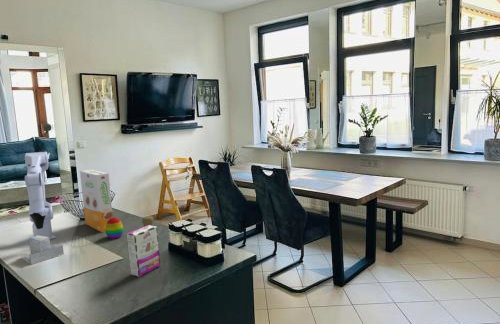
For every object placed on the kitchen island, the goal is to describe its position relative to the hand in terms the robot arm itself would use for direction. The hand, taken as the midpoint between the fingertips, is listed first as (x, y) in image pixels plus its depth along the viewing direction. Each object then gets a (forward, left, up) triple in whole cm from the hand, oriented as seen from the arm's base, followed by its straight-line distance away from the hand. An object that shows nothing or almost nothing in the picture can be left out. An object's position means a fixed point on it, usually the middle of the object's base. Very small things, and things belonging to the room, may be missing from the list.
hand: (39, 228), depth 169 cm
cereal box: (-8, +32, -10) cm, 34 cm away
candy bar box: (+61, +14, -10) cm, 63 cm away
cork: (+32, +36, -10) cm, 49 cm away
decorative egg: (+15, +28, -10) cm, 33 cm away
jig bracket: (+11, -4, -9) cm, 15 cm away
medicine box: (+11, -5, -10) cm, 15 cm away
